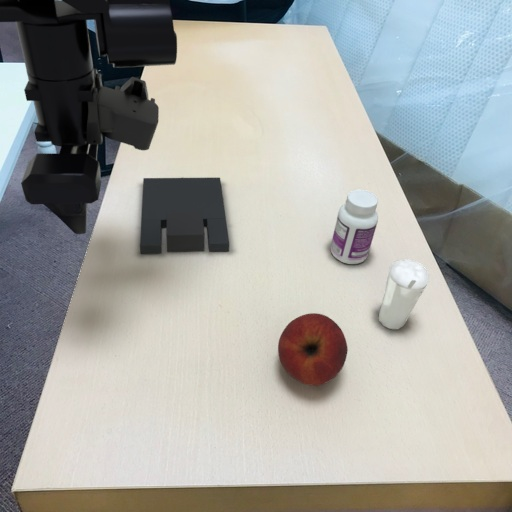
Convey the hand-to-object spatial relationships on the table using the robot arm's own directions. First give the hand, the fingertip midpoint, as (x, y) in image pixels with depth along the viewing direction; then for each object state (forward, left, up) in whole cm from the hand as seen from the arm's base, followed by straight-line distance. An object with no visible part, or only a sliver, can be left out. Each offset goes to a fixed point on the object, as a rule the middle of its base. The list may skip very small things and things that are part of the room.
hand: (85, 206), depth 56 cm
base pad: (+11, +13, -12) cm, 21 cm away
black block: (+11, +8, -12) cm, 18 cm away
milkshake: (+36, -9, -12) cm, 39 cm away
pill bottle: (+34, +4, -12) cm, 36 cm away
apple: (+24, -15, -12) cm, 31 cm away
